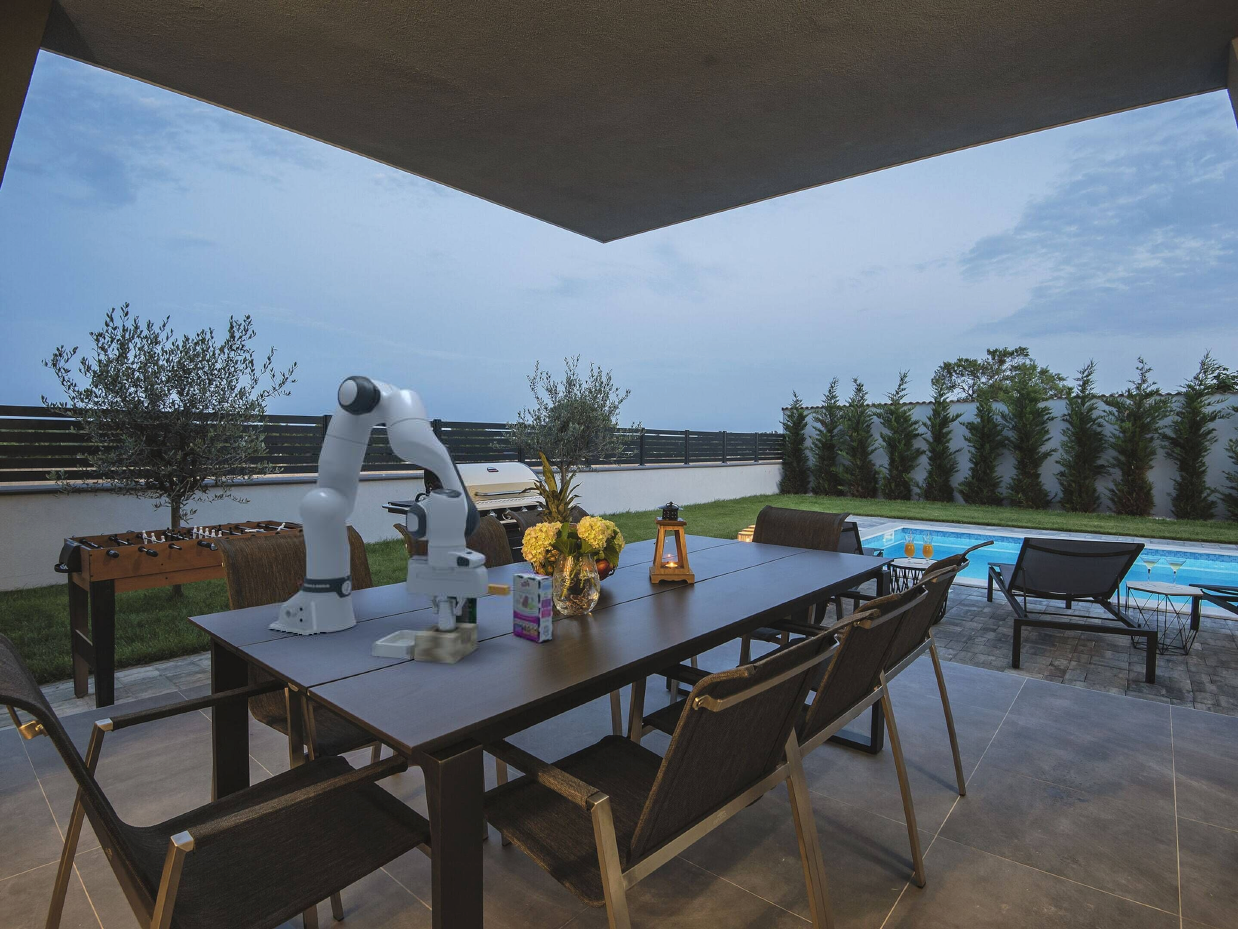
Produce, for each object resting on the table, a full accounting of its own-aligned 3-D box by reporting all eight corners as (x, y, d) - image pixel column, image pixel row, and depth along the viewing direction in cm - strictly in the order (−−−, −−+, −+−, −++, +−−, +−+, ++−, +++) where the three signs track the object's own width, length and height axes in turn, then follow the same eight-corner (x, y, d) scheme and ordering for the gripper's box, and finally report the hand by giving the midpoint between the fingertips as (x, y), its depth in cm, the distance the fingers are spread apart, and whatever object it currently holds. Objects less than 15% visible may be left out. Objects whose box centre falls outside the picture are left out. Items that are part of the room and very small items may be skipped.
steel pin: (435, 656, 146) (435, 601, 145) (443, 651, 150) (443, 598, 149) (450, 657, 145) (450, 602, 145) (458, 652, 149) (458, 598, 148)
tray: (372, 656, 146) (372, 643, 145) (401, 641, 157) (401, 629, 157) (409, 659, 143) (409, 646, 143) (436, 644, 155) (436, 632, 155)
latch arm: (505, 595, 150) (505, 587, 150) (457, 590, 155) (457, 582, 155) (510, 593, 152) (510, 585, 152) (463, 589, 157) (463, 581, 157)
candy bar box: (554, 639, 159) (554, 576, 159) (539, 643, 156) (539, 579, 155) (527, 631, 167) (527, 571, 167) (512, 635, 163) (512, 573, 163)
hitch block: (414, 660, 142) (414, 603, 142) (450, 639, 159) (450, 588, 159) (453, 663, 140) (453, 606, 140) (486, 642, 157) (486, 590, 157)
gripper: (400, 557, 146) (400, 614, 146) (479, 560, 142) (479, 620, 142) (415, 553, 152) (415, 608, 152) (491, 556, 148) (491, 613, 148)
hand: (447, 614), depth 147 cm, fingers closed on steel pin, 4 cm apart
